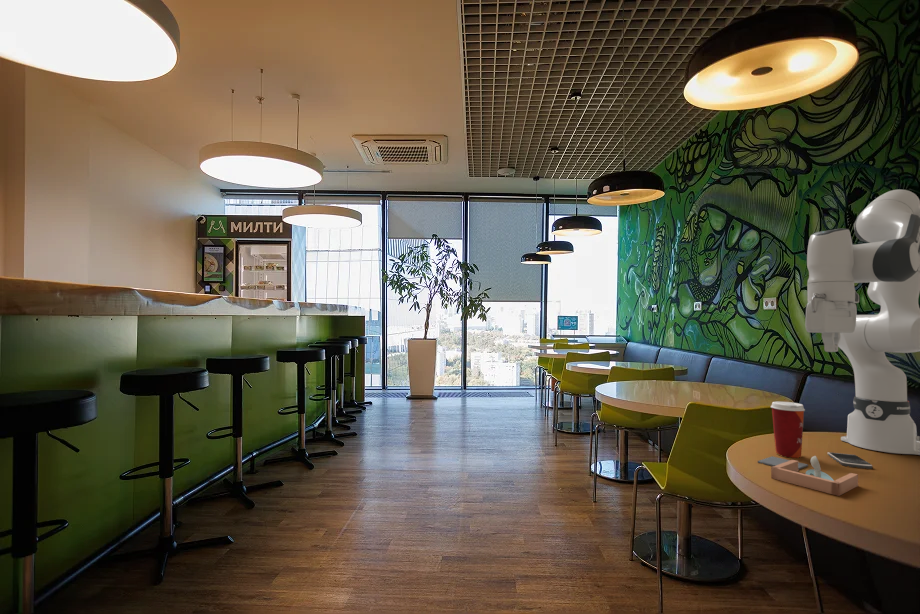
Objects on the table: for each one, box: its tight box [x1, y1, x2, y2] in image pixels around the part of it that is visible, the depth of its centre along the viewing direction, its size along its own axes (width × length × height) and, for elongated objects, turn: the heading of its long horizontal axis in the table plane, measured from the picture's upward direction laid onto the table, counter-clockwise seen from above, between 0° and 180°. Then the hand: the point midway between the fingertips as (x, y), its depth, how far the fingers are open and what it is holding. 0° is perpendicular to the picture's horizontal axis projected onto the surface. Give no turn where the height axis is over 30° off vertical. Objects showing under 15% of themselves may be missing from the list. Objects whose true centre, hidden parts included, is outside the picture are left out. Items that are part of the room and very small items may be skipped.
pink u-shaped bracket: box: [770, 459, 859, 497], centre depth 101 cm, size 11×12×2 cm
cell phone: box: [827, 451, 873, 470], centre depth 116 cm, size 6×11×1 cm, turn 158°
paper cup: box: [770, 401, 806, 459], centre depth 122 cm, size 8×8×14 cm
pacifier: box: [805, 455, 835, 481], centre depth 99 cm, size 7×6×6 cm
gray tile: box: [757, 455, 809, 471], centre depth 113 cm, size 8×8×1 cm
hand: (831, 351), depth 108 cm, fingers closed
